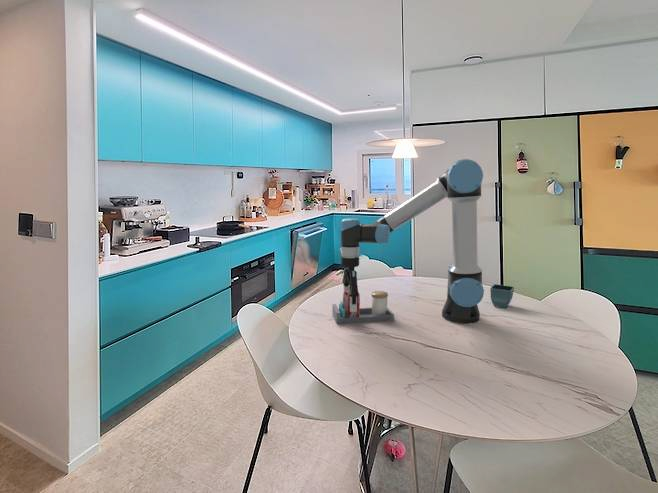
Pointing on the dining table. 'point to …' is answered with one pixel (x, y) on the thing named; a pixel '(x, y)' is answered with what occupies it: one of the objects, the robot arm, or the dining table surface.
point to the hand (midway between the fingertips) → (350, 306)
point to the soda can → (347, 304)
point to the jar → (379, 303)
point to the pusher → (341, 310)
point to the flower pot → (501, 295)
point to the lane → (361, 316)
